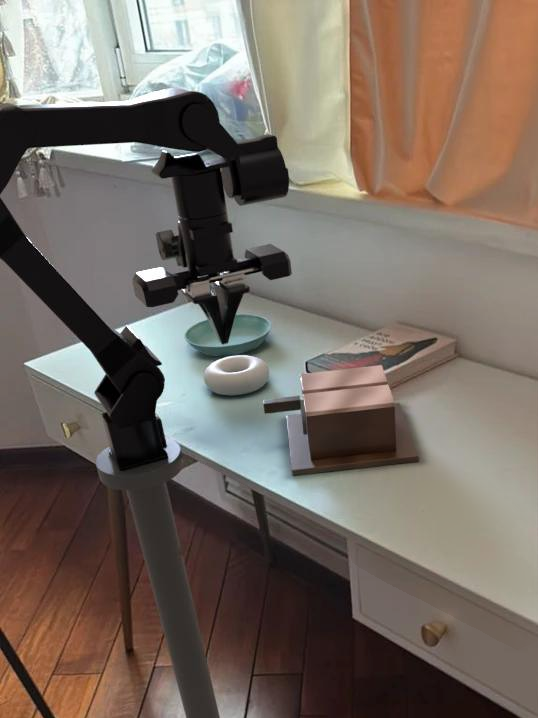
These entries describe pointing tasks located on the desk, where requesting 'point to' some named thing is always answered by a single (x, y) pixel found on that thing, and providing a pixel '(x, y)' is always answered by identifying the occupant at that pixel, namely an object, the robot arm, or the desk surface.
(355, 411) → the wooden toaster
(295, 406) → the knife
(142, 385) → the robot arm
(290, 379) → the desk surface
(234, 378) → the donut
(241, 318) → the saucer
